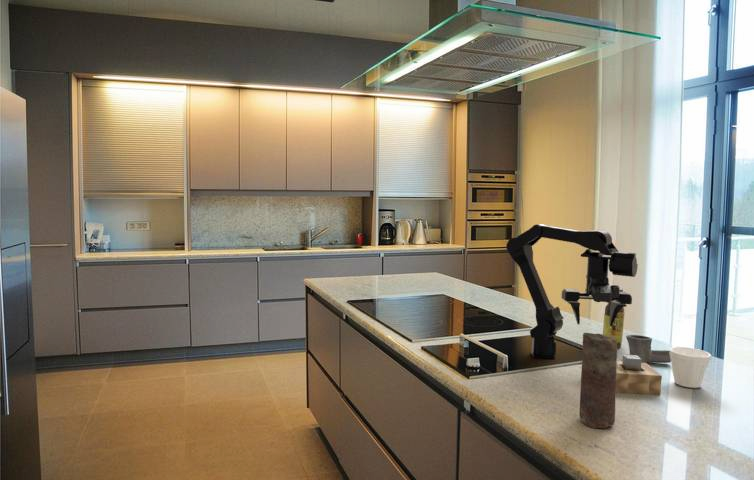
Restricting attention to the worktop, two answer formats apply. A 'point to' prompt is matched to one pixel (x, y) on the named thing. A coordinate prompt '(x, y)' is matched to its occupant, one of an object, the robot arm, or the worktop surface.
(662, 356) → the pipe
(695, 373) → the cup
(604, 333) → the sauce bottle
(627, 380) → the socket block
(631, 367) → the square bit
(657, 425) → the worktop surface
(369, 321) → the worktop surface
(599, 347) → the brown stone pillar
